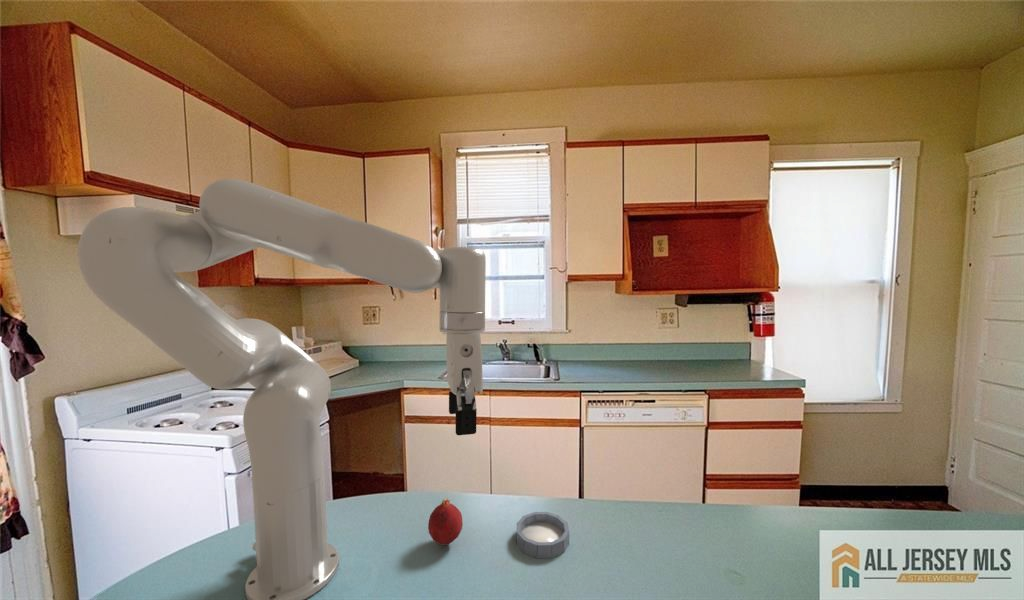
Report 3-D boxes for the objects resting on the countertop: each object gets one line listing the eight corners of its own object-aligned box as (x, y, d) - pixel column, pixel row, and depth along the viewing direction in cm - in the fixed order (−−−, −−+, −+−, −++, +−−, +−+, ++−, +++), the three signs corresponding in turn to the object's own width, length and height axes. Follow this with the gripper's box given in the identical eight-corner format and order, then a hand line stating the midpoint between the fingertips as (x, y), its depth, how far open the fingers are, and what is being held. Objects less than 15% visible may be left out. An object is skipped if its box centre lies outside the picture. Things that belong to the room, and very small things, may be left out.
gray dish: (507, 546, 67) (507, 534, 67) (531, 518, 75) (531, 506, 75) (555, 565, 63) (555, 552, 63) (576, 532, 71) (576, 521, 70)
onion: (456, 558, 64) (455, 511, 64) (423, 554, 66) (422, 507, 65) (467, 535, 70) (466, 492, 70) (436, 531, 71) (435, 488, 71)
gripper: (495, 328, 58) (494, 441, 59) (475, 316, 75) (474, 405, 76) (444, 329, 56) (444, 446, 57) (435, 317, 73) (435, 407, 74)
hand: (461, 422), depth 67 cm, fingers open, 9 cm apart
